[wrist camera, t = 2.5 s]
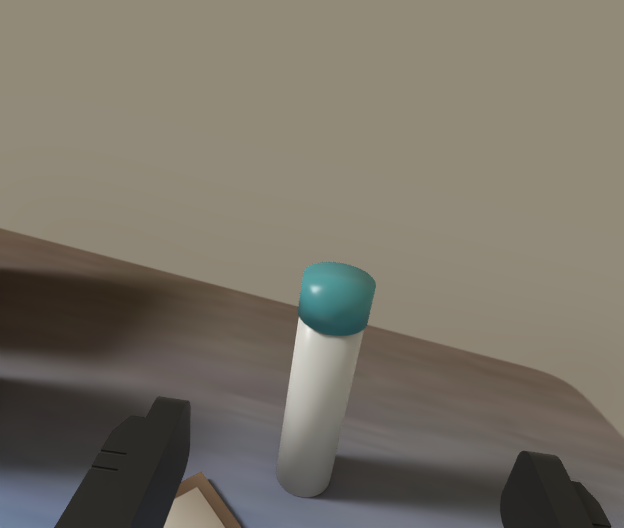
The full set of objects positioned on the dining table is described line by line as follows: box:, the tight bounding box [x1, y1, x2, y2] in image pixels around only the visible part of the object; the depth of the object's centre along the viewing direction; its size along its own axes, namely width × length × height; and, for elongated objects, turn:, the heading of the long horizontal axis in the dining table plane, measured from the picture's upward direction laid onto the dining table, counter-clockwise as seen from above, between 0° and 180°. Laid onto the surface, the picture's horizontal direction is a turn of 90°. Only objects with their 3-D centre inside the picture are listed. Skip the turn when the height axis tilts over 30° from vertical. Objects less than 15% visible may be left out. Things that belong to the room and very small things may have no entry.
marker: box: [276, 262, 376, 497], centre depth 25 cm, size 3×3×13 cm
